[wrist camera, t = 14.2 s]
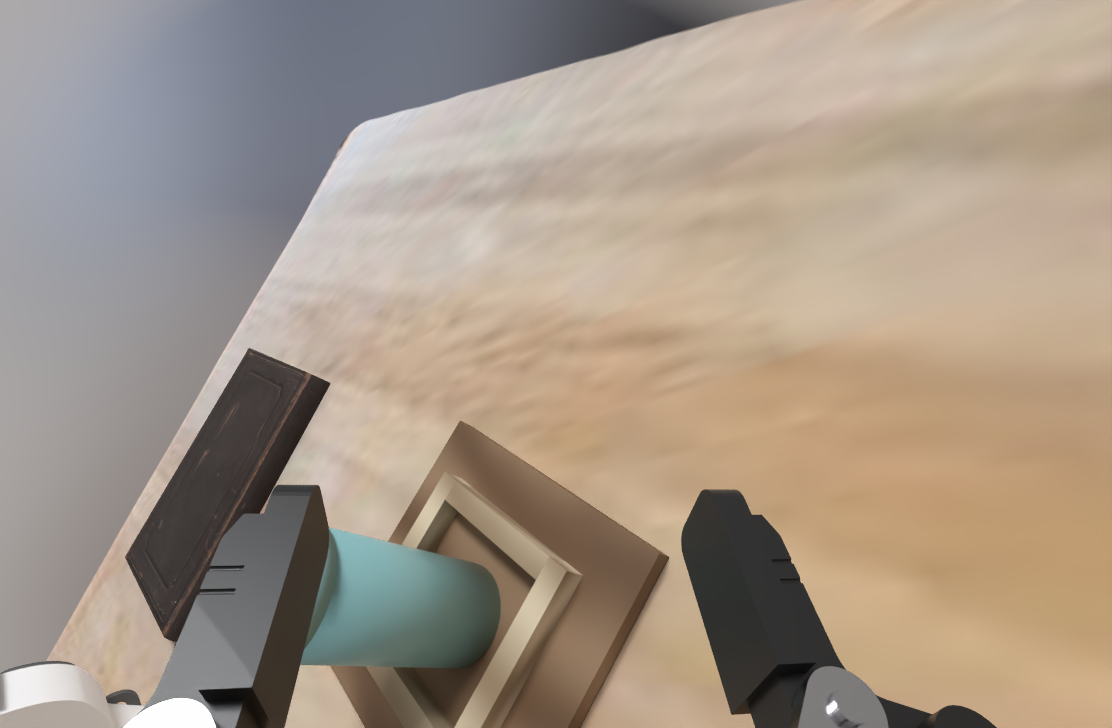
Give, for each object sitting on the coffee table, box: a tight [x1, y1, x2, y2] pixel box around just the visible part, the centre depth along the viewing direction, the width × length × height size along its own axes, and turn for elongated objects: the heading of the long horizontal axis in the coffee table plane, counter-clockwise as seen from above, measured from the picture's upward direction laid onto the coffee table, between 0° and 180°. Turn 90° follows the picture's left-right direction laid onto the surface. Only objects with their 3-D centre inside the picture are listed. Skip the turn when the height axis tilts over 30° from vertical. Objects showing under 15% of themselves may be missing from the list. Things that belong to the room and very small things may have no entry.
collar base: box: [331, 421, 669, 728], centre depth 28 cm, size 16×16×2 cm
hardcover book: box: [125, 348, 330, 641], centre depth 50 cm, size 16×23×2 cm
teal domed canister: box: [300, 528, 501, 668], centre depth 24 cm, size 5×5×11 cm
